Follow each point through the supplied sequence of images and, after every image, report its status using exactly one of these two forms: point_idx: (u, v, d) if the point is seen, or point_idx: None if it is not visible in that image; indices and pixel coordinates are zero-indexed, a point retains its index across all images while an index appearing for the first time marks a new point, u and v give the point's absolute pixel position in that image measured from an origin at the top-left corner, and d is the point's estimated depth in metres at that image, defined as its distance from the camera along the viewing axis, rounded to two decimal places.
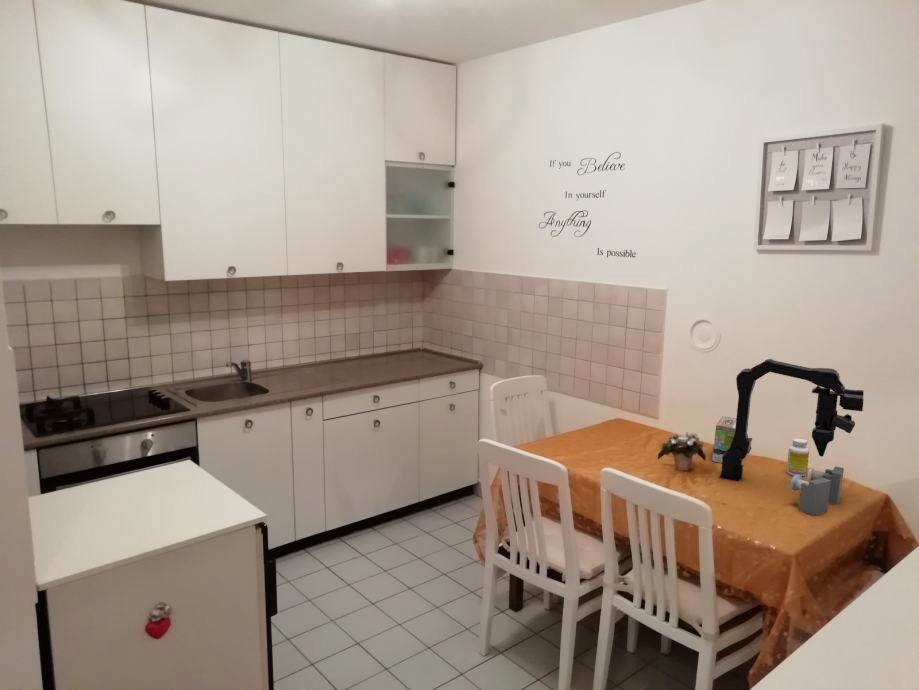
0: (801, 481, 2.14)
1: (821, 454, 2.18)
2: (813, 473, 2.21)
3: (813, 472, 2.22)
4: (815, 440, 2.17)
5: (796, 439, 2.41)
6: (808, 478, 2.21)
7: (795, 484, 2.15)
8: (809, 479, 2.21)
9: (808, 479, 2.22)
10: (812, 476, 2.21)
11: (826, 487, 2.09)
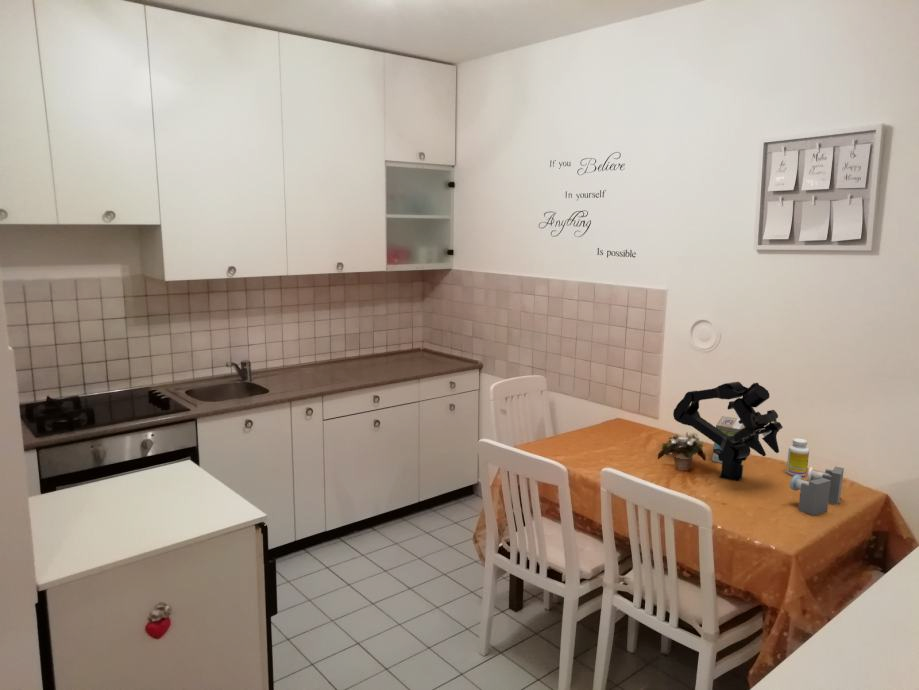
0: (801, 481, 2.14)
1: (763, 454, 2.22)
2: (813, 473, 2.21)
3: (813, 472, 2.22)
4: (748, 444, 2.25)
5: (796, 439, 2.41)
6: (808, 478, 2.21)
7: (795, 484, 2.15)
8: (809, 479, 2.21)
9: (808, 479, 2.22)
10: (812, 476, 2.21)
11: (826, 487, 2.09)
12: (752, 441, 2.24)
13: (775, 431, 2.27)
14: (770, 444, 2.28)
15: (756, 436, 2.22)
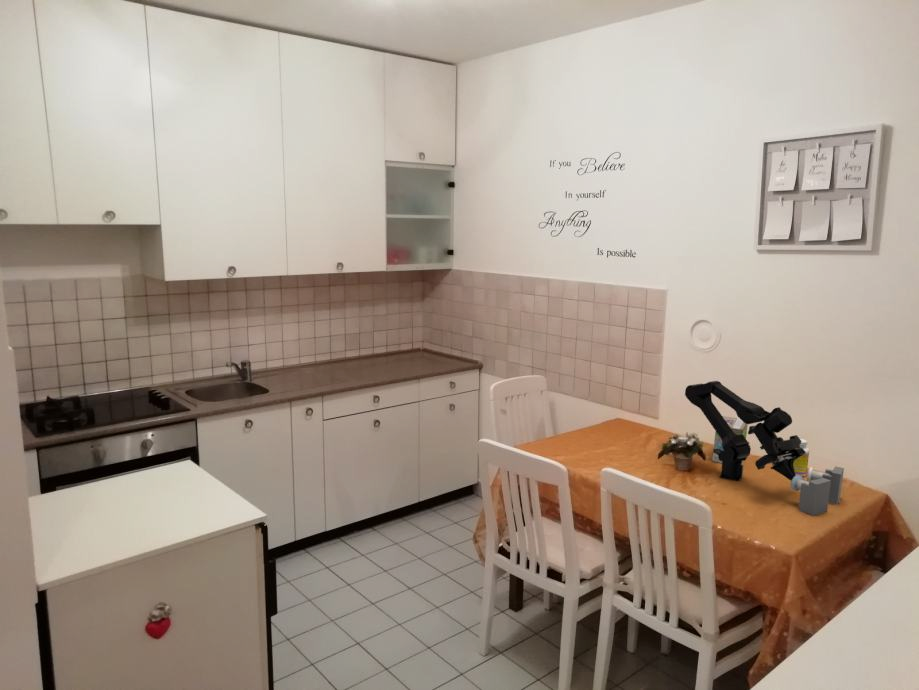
0: (802, 481, 2.13)
1: None
2: (813, 473, 2.21)
3: (813, 472, 2.22)
4: (776, 469, 2.20)
5: None
6: (808, 478, 2.21)
7: (796, 484, 2.14)
8: (809, 479, 2.21)
9: (808, 479, 2.22)
10: (812, 476, 2.21)
11: (826, 487, 2.09)
12: (781, 466, 2.19)
13: (792, 459, 2.18)
14: None
15: (785, 461, 2.17)
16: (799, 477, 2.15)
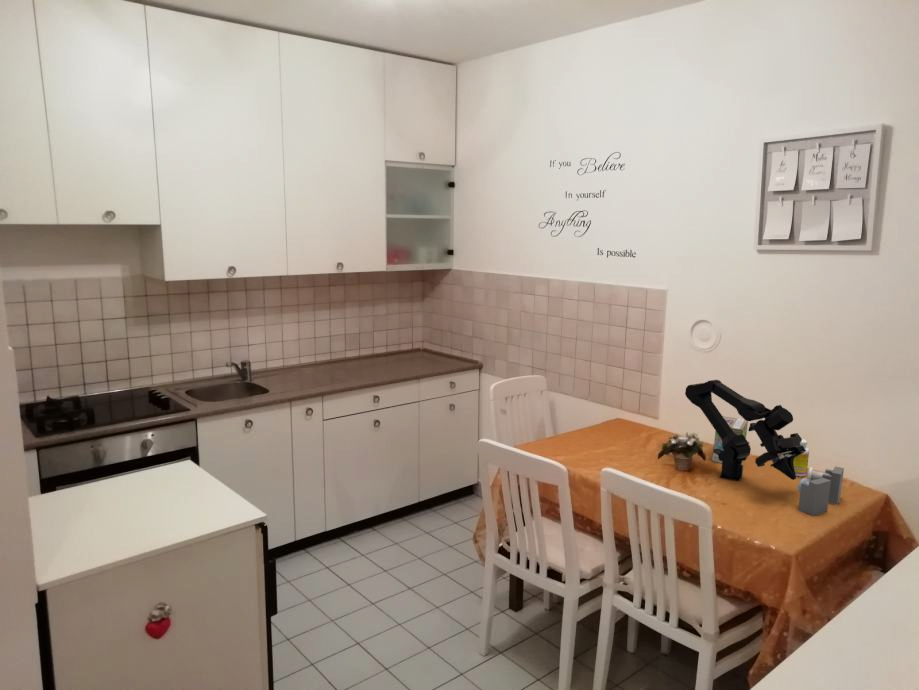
0: None
1: (792, 477, 2.17)
2: (813, 473, 2.21)
3: (813, 472, 2.22)
4: (776, 467, 2.20)
5: None
6: (808, 478, 2.21)
7: None
8: (809, 479, 2.21)
9: None
10: (812, 476, 2.21)
11: (826, 487, 2.09)
12: (781, 464, 2.19)
13: (792, 456, 2.18)
14: None
15: (785, 459, 2.17)
16: (806, 480, 2.13)
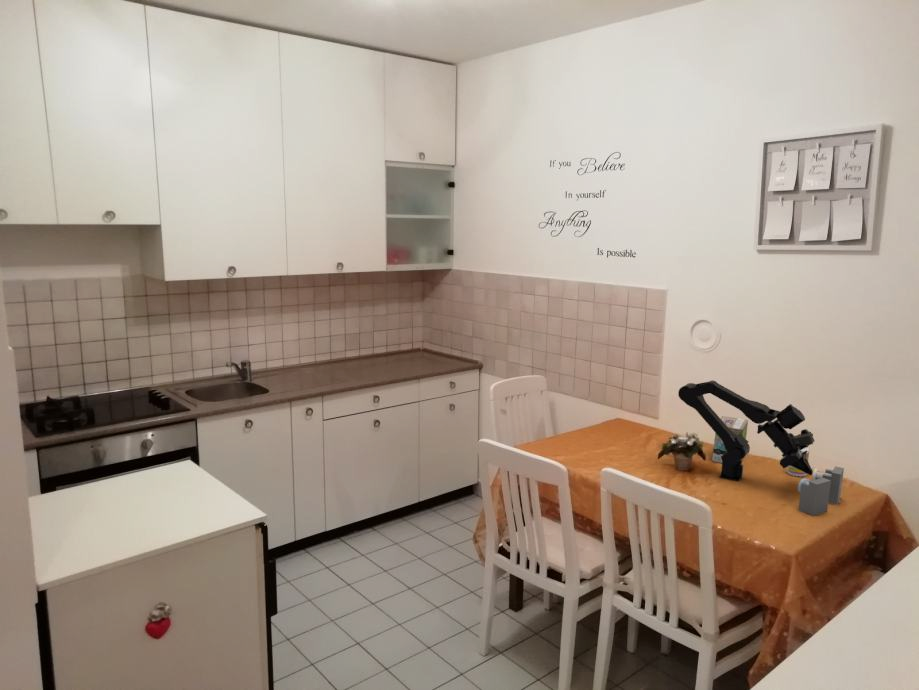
0: None
1: (810, 473, 2.22)
2: (817, 474, 2.21)
3: (817, 473, 2.21)
4: (794, 465, 2.24)
5: None
6: (812, 479, 2.21)
7: None
8: None
9: None
10: (816, 477, 2.21)
11: (826, 487, 2.09)
12: (798, 461, 2.23)
13: (806, 453, 2.24)
14: None
15: (804, 456, 2.22)
16: (806, 480, 2.13)
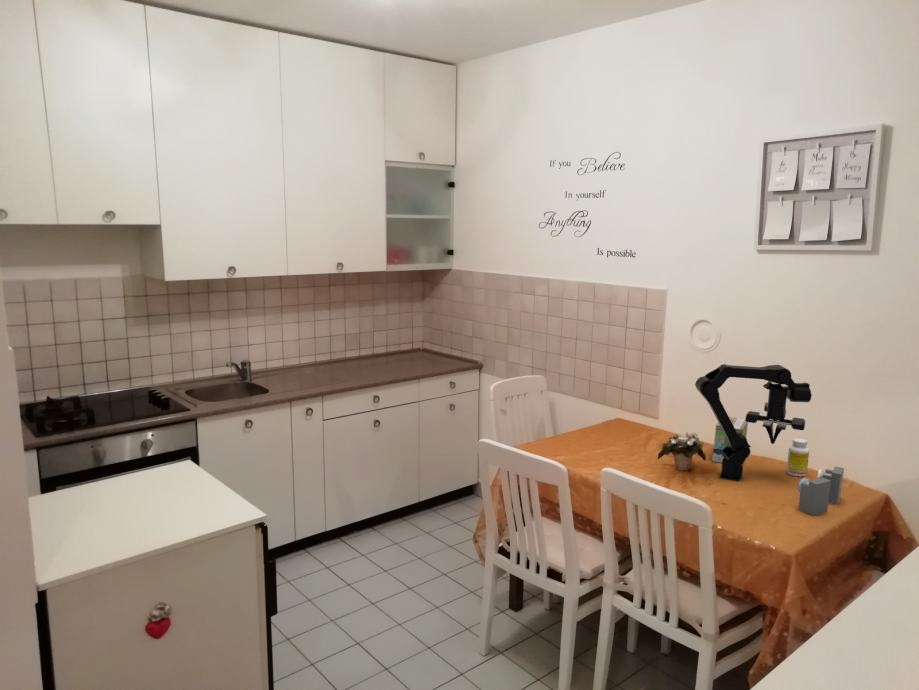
0: None
1: (774, 442, 2.35)
2: None
3: None
4: None
5: (796, 439, 2.41)
6: None
7: None
8: None
9: None
10: None
11: (826, 487, 2.09)
12: None
13: None
14: (772, 434, 2.35)
15: None
16: (806, 480, 2.13)
